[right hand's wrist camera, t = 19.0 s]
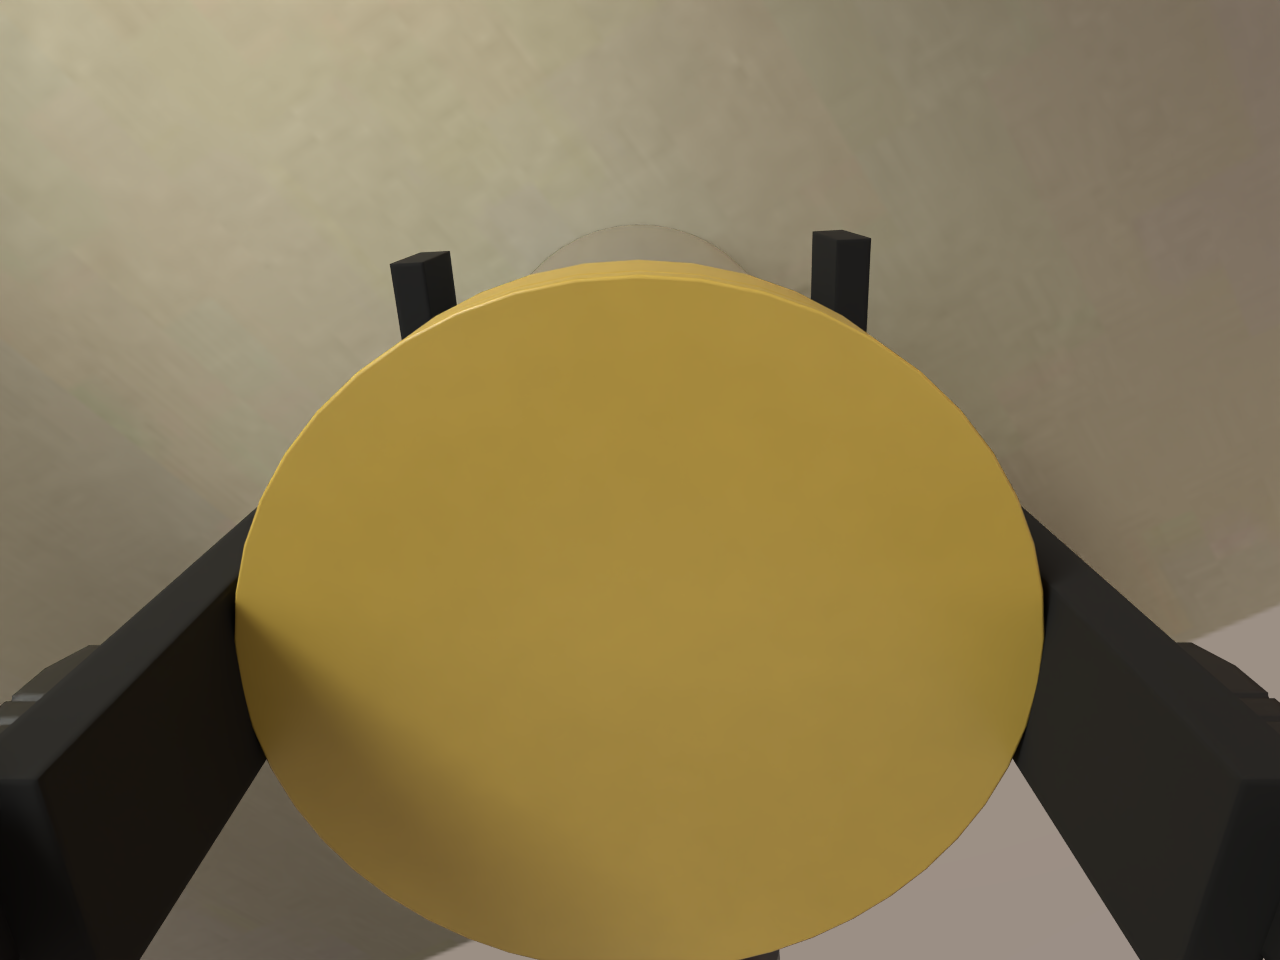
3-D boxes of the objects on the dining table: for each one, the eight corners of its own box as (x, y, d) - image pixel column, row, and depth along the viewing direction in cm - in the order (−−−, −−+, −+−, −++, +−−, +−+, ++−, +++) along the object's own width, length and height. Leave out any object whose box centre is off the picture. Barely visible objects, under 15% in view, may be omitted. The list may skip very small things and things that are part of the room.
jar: (619, 550, 29) (596, 999, 13) (439, 350, 26) (147, 614, 11) (835, 392, 27) (1109, 703, 11) (663, 158, 24) (705, 138, 9)
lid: (1134, 618, 12) (1205, 684, 10) (640, 974, 15) (640, 1067, 13) (638, 68, 9) (637, 48, 8) (144, 620, 12) (72, 685, 10)
